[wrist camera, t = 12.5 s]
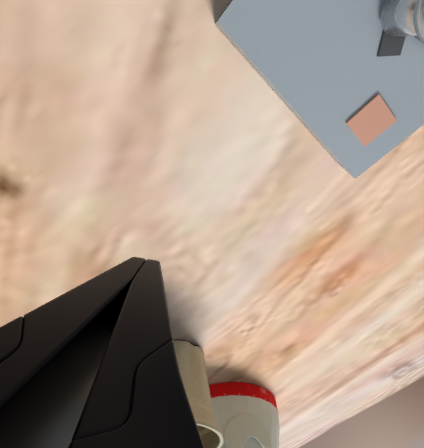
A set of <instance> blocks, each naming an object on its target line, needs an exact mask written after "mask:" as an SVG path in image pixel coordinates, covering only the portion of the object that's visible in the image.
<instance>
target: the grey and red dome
mask: <svg viewBox="0 0 424 448" xmlns="http://www.w3.org/2000/svg"><path fill="white" fill-rule="evenodd" d="M209 390H210V396H211V401H212V407H213V413H214V415H215V417H216V419H217V423H218V428H219V430H220V431H221V432H222V434H223V440H224V442H223V445H222V446H221V448H279V416H278V410H277V406H276V401H275V398H274V395H273V394H272V393H271V392H270V391H268V390H267V389H265V388H262V387H260V386H258V385H253V384H249V383H239V382H228V383H217V384H213V385H209Z"/></svg>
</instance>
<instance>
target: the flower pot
mask: <svg viewBox="0 0 424 448" xmlns="http://www.w3.org/2000/svg"><path fill="white" fill-rule="evenodd" d="M174 344H175V349H176V355H177V360H178V364H179V369H180V373H181V377H182V380H183V384H184V387H185V390H186V394H187V397H188V400H189V403H190V406H191V409H192V412H193V415H194V418H195V421H196V424H197V427H198V430H199V433H200V436H201V439H202V442H203V445H204V447H205V448H221V446H222V445H223V442H224V440H223V434H222V432H221V431H220V430H219V428H218V423H217V419H216V417H215V415H214V413H213V407H212V401H211V396H210V390H209V384H208V378H207V372H206V365H205V359H204V353H203V351H202V350H201V348H200V347H198V346H193V345H192V344H190V343H189V342H188V341H178V340H177V341H174Z"/></svg>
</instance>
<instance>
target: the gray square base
mask: <svg viewBox="0 0 424 448" xmlns="http://www.w3.org/2000/svg"><path fill="white" fill-rule="evenodd" d="M385 1H386V0H232V2H231V3H230V4H229V6H228V7H227V9H226V10H225V11H224V13H223V14H222V15H221V17H220V18H219V19H218V21H217V22H216V23H215V25H216V26H217V27H218V28H219V29H220V30H221V32H222V33H223V34H224V35H225V36H226V37H227V38H228V39H229V41H230V42H231V43H232V44H233V45H234V46H235V47H236V49H237V50H238V51H239V52H240V53H241V54H242V55H243V56H244V58H245V59H246V60H247V61H248V62H249V63H250V64H251V66H252V67H253V68H254V69H255V70H256V71H257V72H258V73H259V75H260V76H261V77H262V78H263V79H264V80H265V81H266V82H267V84H268V85H269V86H270V87H271V88H272V89H273V90H274V92H275V93H276V94H277V95H278V96H279V97H280V98H281V99H282V101H283V102H284V103H285V104H286V105H287V106H288V107H289V109H290V110H291V111H292V112H293V113H294V114H295V115H296V116H297V118H298V119H299V120H300V121H301V122H302V123H303V124H304V126H305V127H306V128H307V129H308V130H309V131H310V132H311V133H312V135H313V136H314V137H315V138H316V139H317V140H318V141H319V142H320V144H321V145H322V146H323V147H324V148H325V149H326V150H327V152H328V153H329V154H330V155H331V156H332V157H333V158H334V159H335V161H336V162H337V163H338V164H339V165H340V166H341V167H342V168H344V169H345V170H346V171H347V172H348V173H349V174H350V175H352V176H353V177H354V178H357V177H358V176H359V175H360V174H362V173H363V172H364V171H366V170H367V169H368V168H369V167H371V166H372V165H373V164H374V163H376V162H377V161H378V160H379V159H381V158H382V157H383V156H384V155H386V154H387V153H388V152H389V151H391V150H392V149H393V148H395V147H396V146H397V145H398V144H400V143H401V142H402V141H403V140H405V139H406V138H407V137H408V136H410V135H411V134H412V133H413V132H415V131H416V130H417V129H419V128H420V127H421V126H422V125H424V43H422V42H421V41H419V40H418V39H416V38H415V36H390V35H388V34H387V33H385V31H384V30H383V28H382V25H381V12H382V8H383V5H384V3H385Z"/></svg>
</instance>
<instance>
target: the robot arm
mask: <svg viewBox="0 0 424 448" xmlns="http://www.w3.org/2000/svg"><path fill="white" fill-rule="evenodd" d="M0 448H205V447H204V445H203V442H202V439H201V436H200V433H199V430H198V427H197V424H196V421H195V418H194V415H193V412H192V409H191V406H190V403H189V400H188V397H187V394H186V390H185V387H184V384H183V380H182V377H181V373H180V369H179V364H178V360H177V355H176V349H175V344H174V341H173V334H172V328H171V323H170V317H169V311H168V306H167V300H166V294H165V289H164V283H163V277H162V271H161V266H160V262H159V261H156V260H150V259H148V260H145V259H144V258H138V257H132V258H130V259H128V260H126V261H124V262H122V263H121V264H119V265H117V266H115V267H113V268H111V269H109V270H108V271H106V272H104V273H102V274H100V275H98V276H96V277H94V278H93V279H91V280H89V281H87V282H85V283H83V284H81V285H79V286H78V287H76V288H74V289H72V290H70V291H68V292H66V293H65V294H63V295H61V296H59V297H57V298H55V299H53V300H51V301H50V302H48V303H46V304H44V305H42V306H40V307H38V308H37V309H35V310H33V311H31V312H29V313H27V314H25V315H24V318H23V317H19V318H17V319H15V320H13V321H11V322H9V323H7V324H6V325H4V326H2V327H0Z"/></svg>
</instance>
